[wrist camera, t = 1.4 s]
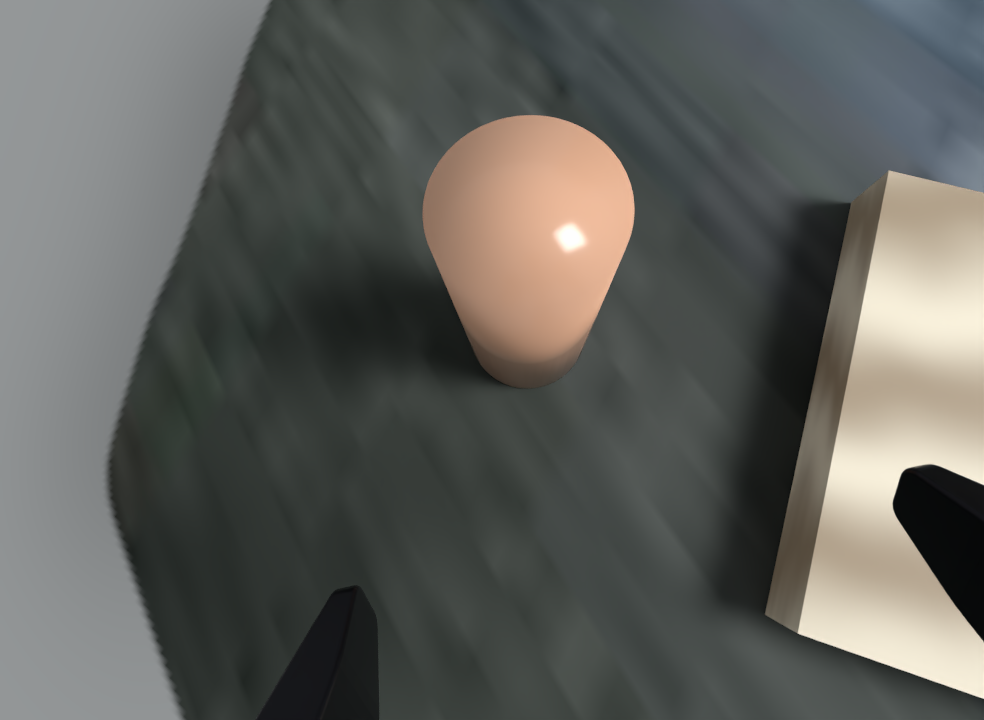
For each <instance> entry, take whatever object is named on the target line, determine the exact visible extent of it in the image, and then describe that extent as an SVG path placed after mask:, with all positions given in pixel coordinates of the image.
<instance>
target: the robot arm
mask: <svg viewBox="0 0 984 720" xmlns="http://www.w3.org/2000/svg"><path fill="white" fill-rule="evenodd" d="M892 504H893V510H894V513H895V516H896V518H897V519H898V521H899V522H900V524H901V525H902V527H903V528H904V530H905V531H906V533H907V534H908V536H909V537H910V539H911V540H912V542H913V543H914V545H915V547H916V548H917V550H918V551H919V553H920V554H921V556H922V557H923V559H924V560H925V562H926V563H927V565H928V566H929V568H930V569H931V571H932V572H933V574H934V575H935V577H936V578H937V580H938V581H939V583H940V584H941V586H942V587H943V589H944V590H945V592H946V593H947V595H948V596H949V597H950V599H951V600H952V602H953V603H954V605H955V606H956V607H957V609H958V610H959V611H960V613H961V614H962V615H963V616H964V618H965V619H966V620H967V622H968V623H969V624H970V625H971V627H972V628H973V629H974V630H975V632H976V633H977V634H978V635H979V637H980V638H981V639H982V640H983V642H984V485H983V484H980V483H978V482H976V481H973V480H971V479H969V478H966V477H964V476H962V475H959V474H957V473H955V472H952V471H950V470H948V469H945V468H943V467H940V466H938V465H934V464H925V465H920V466H915V467H911V468H907V469H905V470H904V471H903V472H902V474H901V476H900V479H899V482H898V486H897V489H896V492H895V495H894V498H893V503H892ZM255 720H379V678H378V628H377V619H376V615H375V612H374V610H373V608H372V607H371V605H370V603H369V601H368V599H367V597H366V595H365V594H364V592H363V590H362V589H361V587H359V586H357V585H354V586H350V587H345V588H340V589H337V590H335V591H334V592H333V593H332V594H331V596H330V597H329V599H328V600H327V602H326V604H325V605H324V607H323V609H322V610H321V612H320V614H319V615H318V617H317V619H316V620H315V622H314V624H313V625H312V627H311V628H310V630H309V632H308V633H307V635H306V637H305V638H304V640H303V642H302V643H301V645H300V647H299V648H298V650H297V652H296V653H295V655H294V657H293V658H292V660H291V662H290V663H289V665H288V666H287V668H286V670H285V671H284V673H283V675H282V676H281V678H280V680H279V681H278V683H277V685H276V686H275V688H274V690H273V691H272V693H271V695H270V696H269V698H268V700H267V701H266V703H265V705H264V706H263V708H262V709H261V711H260V713H259V714H258V716H257V718H256V719H255Z"/></svg>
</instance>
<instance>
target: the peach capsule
mask: <svg viewBox="0 0 984 720" xmlns="http://www.w3.org/2000/svg"><path fill="white" fill-rule="evenodd" d="M633 223H634V197H633V192H632V188H631V184H630V181H629V179H628V176H627V173H626V171H625V169H624V168H623V166H622V164H621V162H620V161H619V159H618V158H617V157H616V155H615V154H614V153H613V151H612V150H611V149H610V148H609V147H608V146H607V145H606V144H605V143H604V142H603V141H601V140H600V139H599V138H598V137H596V136H595V135H594V134H592V133H591V132H589V131H587V130H586V129H584V128H582V127H580V126H578V125H575V124H573V123H571V122H568V121H565V120H561V119H558V118H553V117H547V116H537V115H525V116H514V117H508V118H503V119H500V120H496V121H493V122H490V123H488V124H486V125H483V126H481V127H479V128H477V129H475V130H473V131H472V132H470V133H468V134H467V135H466V136H464V137H463V138H461V139H460V140H459V141H458V142H456V143H455V144H454V145H453V146H452V147H451V148H450V149H449V150H448V151H447V152H446V154H445V155H444V156H443V157H442V158H441V160H440V161H439V163H438V164H437V166H436V168H435V169H434V171H433V173H432V175H431V177H430V180H429V182H428V185H427V188H426V192H425V196H424V202H423V225H424V232H425V235H426V239H427V243H428V245H429V248H430V250H431V252H432V255H433V257H434V259H435V262H436V264H437V266H438V269H439V271H440V273H441V276H442V278H443V280H444V283H445V285H446V287H447V290H448V292H449V294H450V297H451V299H452V302H453V304H454V306H455V309H456V311H457V313H458V316H459V318H460V320H461V323H462V325H463V327H464V330H465V332H466V334H467V337H468V339H469V341H470V344H471V346H472V348H473V351H474V353H475V355H476V358H477V360H478V361H479V363H480V365H481V366H482V367H483V368H484V370H485V371H486V372H487V373H489V374H490V375H491V376H492V377H493V378H495V379H496V380H498V381H500V382H502V383H504V384H506V385H509V386H513V387H517V388H538V387H542V386H546V385H549V384H551V383H553V382H555V381H557V380H559V379H560V378H562V377H563V376H564V375H565V374H567V373H568V372H569V371H570V369H571V368H572V367H573V366H574V364H575V363H576V362H577V360H578V358H579V356H580V354H581V351H582V349H583V347H584V344H585V342H586V340H587V337H588V335H589V333H590V330H591V328H592V326H593V323H594V321H595V319H596V316H597V314H598V312H599V309H600V307H601V305H602V303H603V300H604V298H605V296H606V293H607V291H608V289H609V286H610V284H611V282H612V279H613V277H614V275H615V272H616V270H617V268H618V265H619V263H620V261H621V258H622V256H623V254H624V251H625V249H626V246H627V244H628V241H629V238H630V236H631V232H632V227H633Z"/></svg>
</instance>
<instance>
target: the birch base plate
mask: <svg viewBox="0 0 984 720" xmlns="http://www.w3.org/2000/svg"><path fill="white" fill-rule="evenodd" d="M925 464H934V465H938V466H940V467H943V468H945V469H948V470H950V471H952V472H955V473H957V474H959V475H962V476H964V477H966V478H969V479H971V480H973V481H976V482H978V483H980V484H983V485H984V193H982V192H978V191H974V190H969V189H965V188H961V187H956V186H952V185H948V184H944V183H939V182H935V181H931V180H927V179H922V178H918V177H914V176H910V175H905V174H901V173H897V172H892V171H888V172H887V173H886V174H884V175H883V176H882V177H881V178H880V179H878V180H877V181H876V182H875V183H874V184H873V185H871V186H870V187H869V188H868V189H867V190H866V191H864V192H863V193H862V194H861V195H860V196H858V197H857V198H856V199H855V200H854V201H853V202H851V207H850V211H849V216H848V221H847V226H846V230H845V235H844V240H843V245H842V249H841V254H840V259H839V264H838V269H837V273H836V278H835V283H834V288H833V292H832V297H831V302H830V307H829V311H828V316H827V321H826V326H825V330H824V335H823V340H822V345H821V350H820V354H819V359H818V364H817V369H816V373H815V378H814V383H813V388H812V392H811V397H810V402H809V407H808V411H807V416H806V421H805V426H804V431H803V435H802V440H801V445H800V450H799V454H798V459H797V464H796V469H795V473H794V478H793V483H792V488H791V492H790V497H789V502H788V507H787V512H786V516H785V521H784V526H783V531H782V535H781V540H780V545H779V550H778V554H777V559H776V564H775V569H774V573H773V578H772V583H771V588H770V593H769V597H768V602H767V607H766V612H765V615H766V616H768V617H770V618H772V619H773V620H775V621H777V622H778V623H780V624H782V625H784V626H785V627H787V628H789V629H791V630H792V631H794V632H796V633H798V634H800V635H803V636H806V637H809V638H812V639H815V640H817V641H820V642H823V643H826V644H829V645H832V646H835V647H837V648H840V649H843V650H846V651H849V652H852V653H855V654H857V655H860V656H863V657H866V658H869V659H872V660H874V661H877V662H880V663H883V664H886V665H889V666H892V667H894V668H897V669H900V670H903V671H906V672H909V673H912V674H914V675H917V676H920V677H923V678H926V679H929V680H931V681H934V682H937V683H940V684H943V685H946V686H949V687H951V688H954V689H957V690H960V691H963V692H966V693H969V694H971V695H974V696H977V697H980V698H983V699H984V642H983V640H982V639H981V638H980V637H979V635H978V634H977V633H976V632H975V630H974V629H973V628H972V627H971V625H970V624H969V623H968V622H967V620H966V619H965V618H964V616H963V615H962V614H961V613H960V611H959V610H958V609H957V607H956V606H955V605H954V603H953V602H952V600H951V599H950V597H949V596H948V595H947V593H946V592H945V590H944V589H943V587H942V586H941V584H940V583H939V581H938V580H937V578H936V577H935V575H934V574H933V572H932V571H931V569H930V568H929V566H928V565H927V563H926V562H925V560H924V559H923V557H922V556H921V554H920V553H919V551H918V550H917V548H916V547H915V545H914V543H913V542H912V540H911V539H910V537H909V536H908V534H907V533H906V531H905V530H904V528H903V527H902V525H901V524H900V522H899V521H898V519H897V518H896V516H895V513H894V510H893V504H892V503H893V498H894V495H895V492H896V489H897V486H898V482H899V479H900V476H901V474H902V472H903V471H904V470H905V469H907V468H911V467H915V466H920V465H925Z"/></svg>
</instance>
